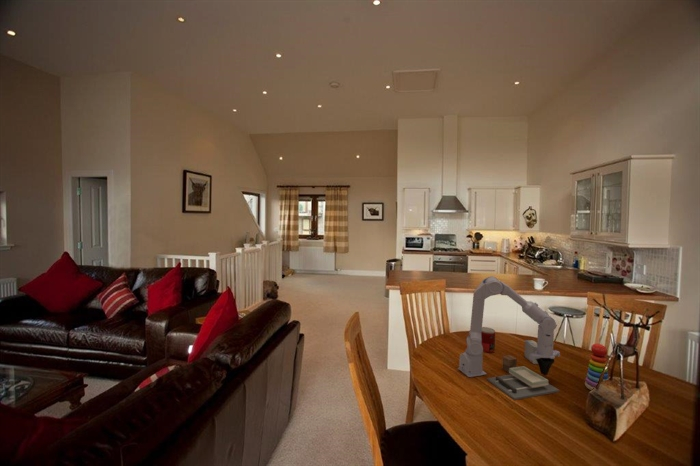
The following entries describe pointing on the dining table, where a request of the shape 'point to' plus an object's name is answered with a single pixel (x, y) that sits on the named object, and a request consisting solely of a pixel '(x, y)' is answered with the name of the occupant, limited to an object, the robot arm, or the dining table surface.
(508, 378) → the track
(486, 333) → the canned food
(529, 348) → the medicine box
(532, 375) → the cream tray
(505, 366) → the walnut block
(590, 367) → the stacking toy
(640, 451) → the dining table surface
